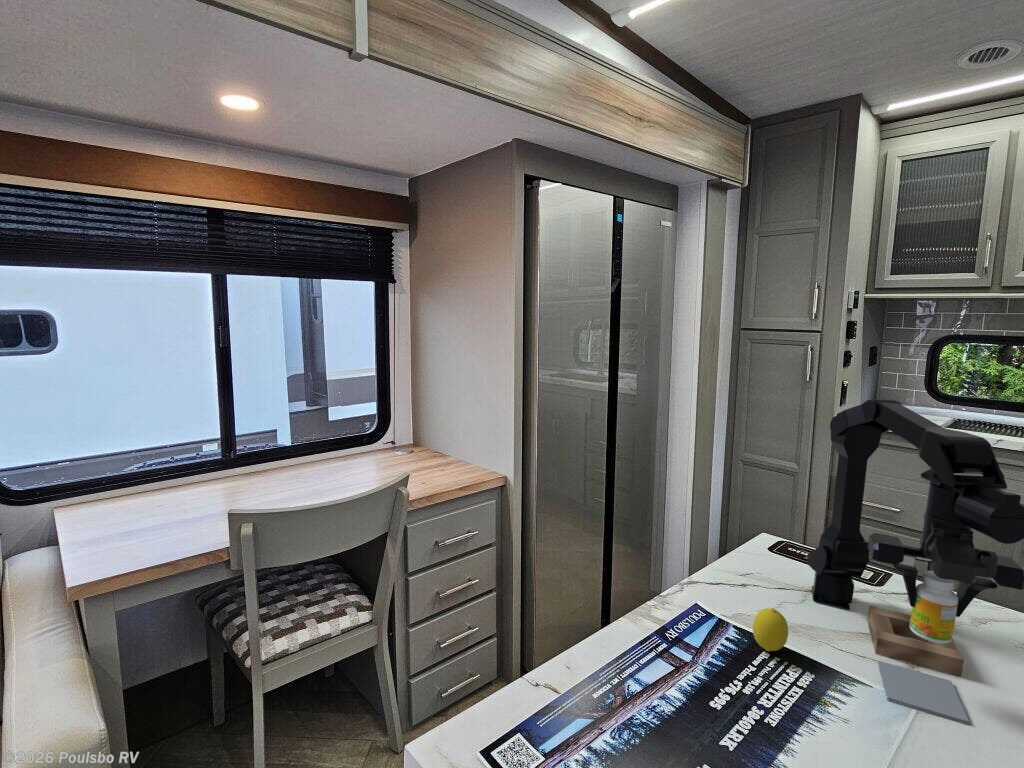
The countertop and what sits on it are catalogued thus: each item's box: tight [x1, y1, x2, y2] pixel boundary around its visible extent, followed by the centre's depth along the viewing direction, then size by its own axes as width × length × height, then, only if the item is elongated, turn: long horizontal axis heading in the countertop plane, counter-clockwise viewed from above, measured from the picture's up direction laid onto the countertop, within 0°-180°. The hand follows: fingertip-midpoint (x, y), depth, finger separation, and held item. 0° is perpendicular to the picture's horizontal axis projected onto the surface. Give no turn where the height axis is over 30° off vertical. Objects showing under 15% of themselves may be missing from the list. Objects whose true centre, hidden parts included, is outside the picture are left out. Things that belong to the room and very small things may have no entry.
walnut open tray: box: [866, 605, 965, 677], centre depth 98 cm, size 12×12×3 cm
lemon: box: [752, 607, 789, 653], centre depth 95 cm, size 6×6×8 cm
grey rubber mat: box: [877, 660, 970, 725], centre depth 87 cm, size 10×10×1 cm
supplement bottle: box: [910, 570, 958, 644], centre depth 86 cm, size 5×5×10 cm
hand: (933, 610), depth 86 cm, fingers closed on supplement bottle, 5 cm apart
